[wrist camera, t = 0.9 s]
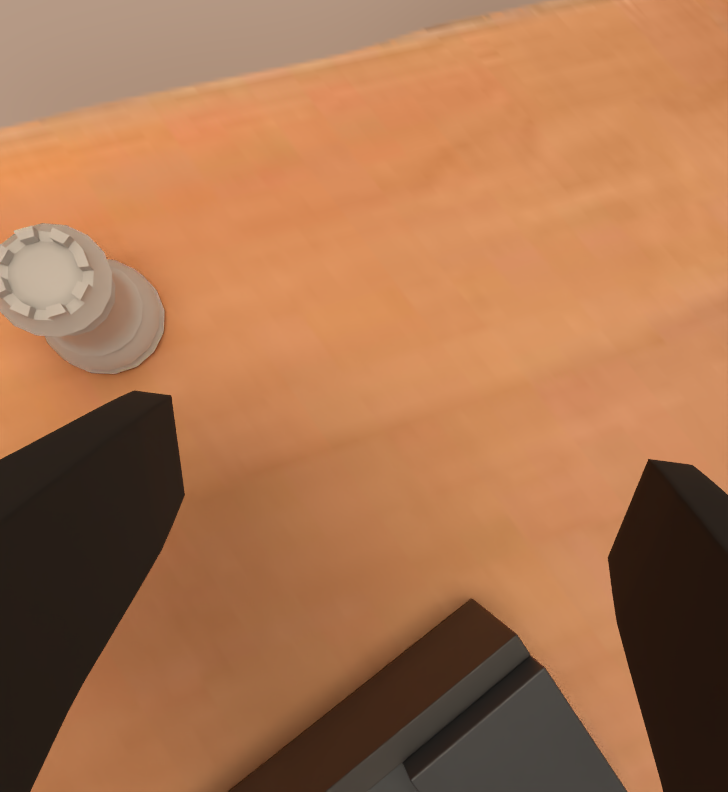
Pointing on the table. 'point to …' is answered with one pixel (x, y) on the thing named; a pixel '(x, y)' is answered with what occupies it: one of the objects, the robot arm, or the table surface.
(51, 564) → the robot arm
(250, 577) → the table surface
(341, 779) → the dark grey stepped block
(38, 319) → the rook chess piece
